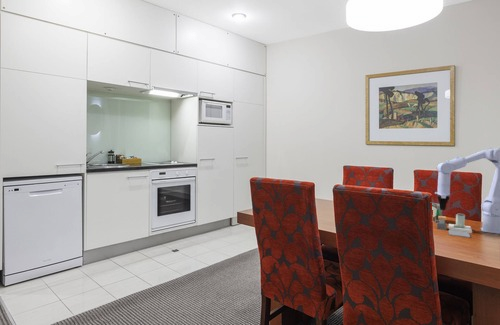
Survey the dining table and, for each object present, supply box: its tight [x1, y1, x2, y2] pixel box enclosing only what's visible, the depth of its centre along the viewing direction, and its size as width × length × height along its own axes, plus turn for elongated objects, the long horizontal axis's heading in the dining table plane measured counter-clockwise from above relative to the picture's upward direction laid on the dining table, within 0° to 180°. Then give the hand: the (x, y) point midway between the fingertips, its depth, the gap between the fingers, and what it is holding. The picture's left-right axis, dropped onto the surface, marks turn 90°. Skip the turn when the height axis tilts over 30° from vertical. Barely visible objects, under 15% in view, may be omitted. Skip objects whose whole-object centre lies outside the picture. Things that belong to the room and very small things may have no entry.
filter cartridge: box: [455, 213, 466, 228], centre depth 174 cm, size 4×4×9 cm
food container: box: [431, 202, 443, 224], centre depth 194 cm, size 12×6×10 cm, turn 179°
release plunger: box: [438, 215, 447, 224], centre depth 175 cm, size 4×4×4 cm
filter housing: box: [436, 222, 473, 234], centre depth 175 cm, size 16×10×3 cm, turn 60°
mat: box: [447, 229, 471, 238], centre depth 165 cm, size 9×9×1 cm
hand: (442, 209), depth 175 cm, fingers closed
